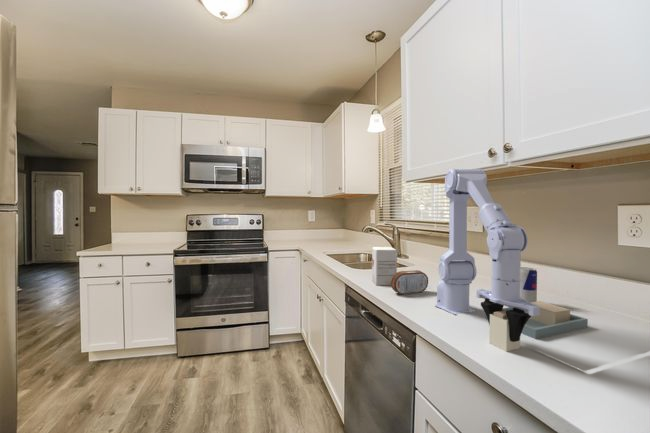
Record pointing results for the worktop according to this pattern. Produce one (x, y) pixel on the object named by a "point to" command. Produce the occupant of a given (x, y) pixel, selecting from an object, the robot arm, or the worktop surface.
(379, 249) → the supplement box
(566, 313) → the tan stepped block
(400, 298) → the worktop surface
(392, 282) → the tin
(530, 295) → the energy drink
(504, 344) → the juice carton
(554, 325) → the tray
